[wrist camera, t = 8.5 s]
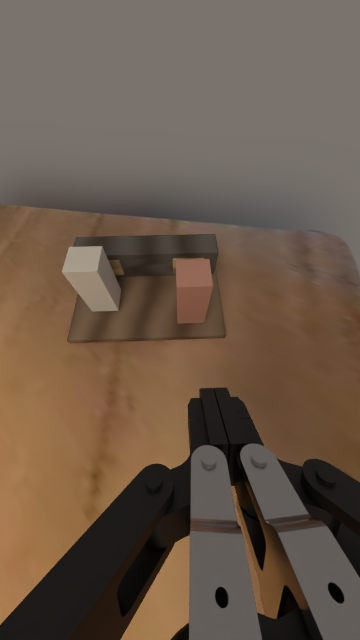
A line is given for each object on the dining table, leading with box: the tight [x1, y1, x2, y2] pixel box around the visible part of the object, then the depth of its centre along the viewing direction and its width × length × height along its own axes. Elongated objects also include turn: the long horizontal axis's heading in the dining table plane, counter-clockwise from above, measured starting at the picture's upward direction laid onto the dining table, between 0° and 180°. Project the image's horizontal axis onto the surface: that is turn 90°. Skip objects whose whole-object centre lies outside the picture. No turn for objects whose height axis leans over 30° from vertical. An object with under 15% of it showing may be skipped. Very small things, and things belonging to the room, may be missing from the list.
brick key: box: [176, 259, 213, 324], centre depth 27 cm, size 4×4×9 cm
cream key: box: [62, 246, 121, 312], centre depth 28 cm, size 4×4×9 cm
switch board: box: [67, 234, 226, 343], centre depth 31 cm, size 23×16×6 cm
